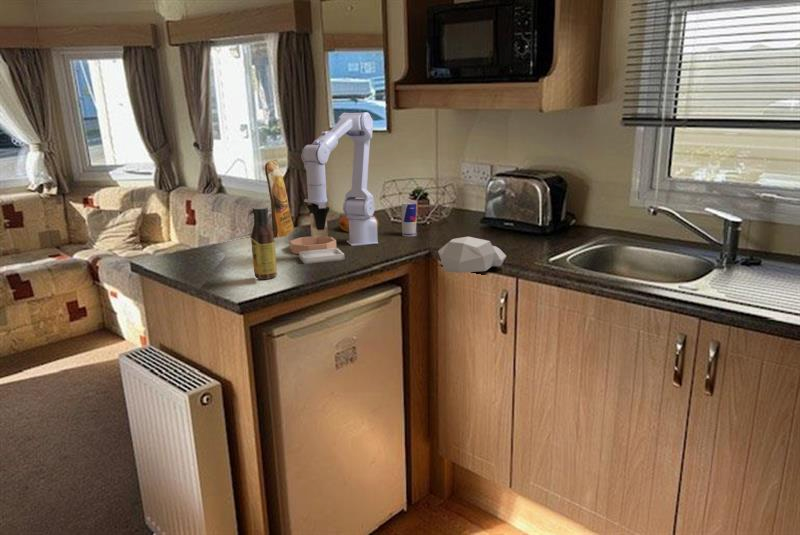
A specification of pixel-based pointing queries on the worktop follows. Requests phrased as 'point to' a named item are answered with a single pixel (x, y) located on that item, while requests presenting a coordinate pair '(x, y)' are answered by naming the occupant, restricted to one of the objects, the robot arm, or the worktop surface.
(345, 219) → the croissant
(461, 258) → the rock
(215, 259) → the worktop surface
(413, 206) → the energy drink
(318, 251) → the tray
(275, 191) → the pancake mix bag
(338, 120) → the robot arm
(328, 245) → the pinkish-brown octagonal ring
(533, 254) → the worktop surface
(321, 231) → the beech peg
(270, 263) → the sauce bottle
